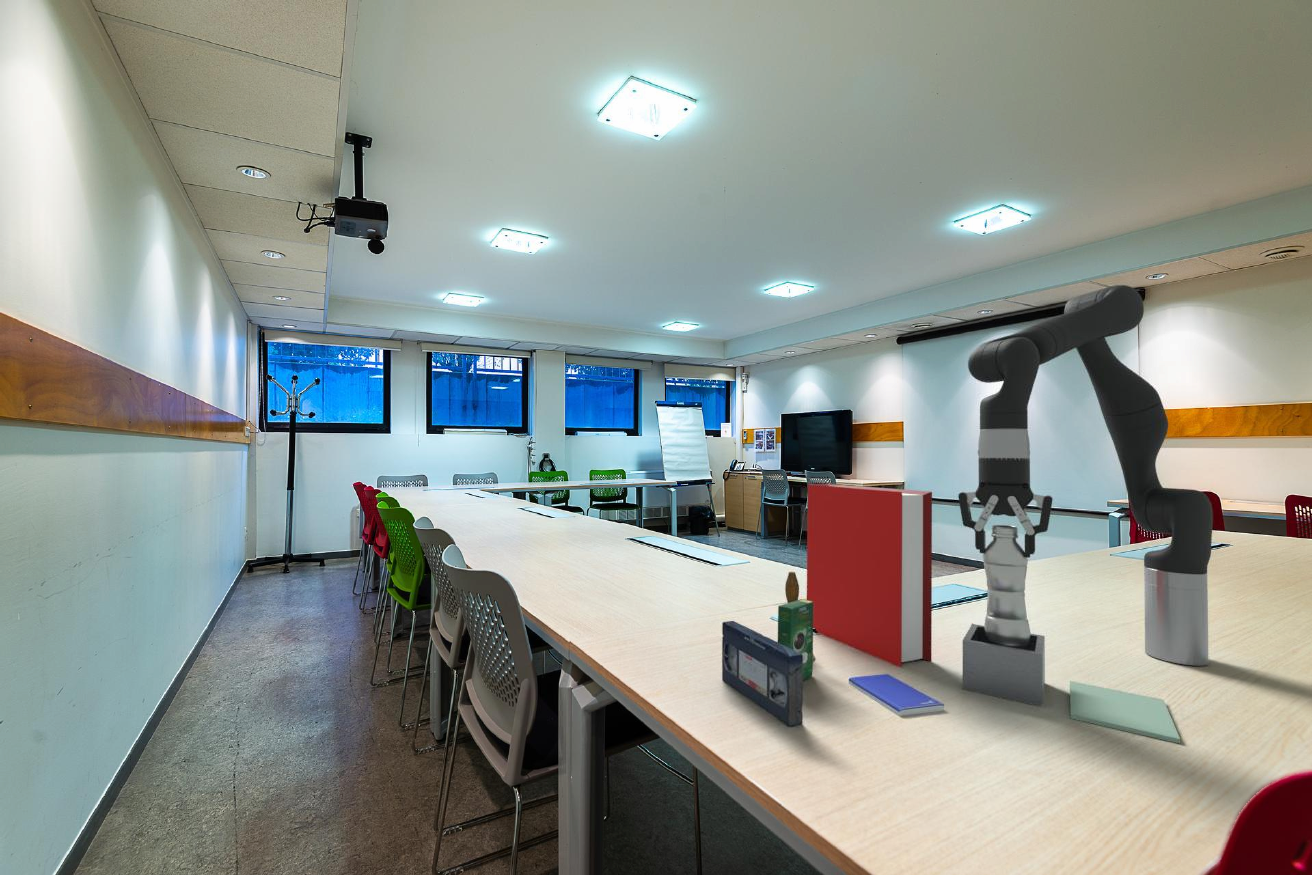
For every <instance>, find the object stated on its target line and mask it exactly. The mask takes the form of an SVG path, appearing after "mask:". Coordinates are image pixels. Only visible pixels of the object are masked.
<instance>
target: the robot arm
mask: <svg viewBox="0 0 1312 875" xmlns="http://www.w3.org/2000/svg"><path fill="white" fill-rule="evenodd" d="M1064 306H1065V307H1064V310H1063V314H1060V315H1056V316H1054V317H1053V316H1052V317H1051V318H1046V319H1045V320H1041V321H1039V322H1037V323H1034V324H1032V325H1030V326H1028V327H1025V328H1024V329H1022V330H1020V331H1018V332H1014V333H1013V334H1009V335H1006V336H1002V337H999V338H995V339H992V340H989V341H987V342H984V343H981V344H980V345H977V346H976V347H975V348H974V349H973V350H972V352H971V354H970V355H969V356H968V360H967V361H968V362H967V368H968V372H969V373H970V375H971V376H972V377H973V378H974V379H975V380H977V381H979V382H980V383H981V382H982V383H988V384H989V383H990V384H991V383H999V382H1003V383H1002V385H1001V387H1000V389H999V391H997V392H996V393H994V394H992V395H989V396H986V397H984V398H982V399H981V401H980V405H979V429H980V430H979V437H978V445H977V446H978V449H977V456H978V457H977V458H978V487H977V489H976V490H975V491H971V492H966V491H962V492H959V493H958V496H957V498H958V503H959V509H960V514H961V522H962V524H963V527H965V528H970V529H973V531H974V535H975V536H974V542H975V543H974V547H975V549H976V550H977V551H978V550H979V554H983V553H984V551H985V549H986V548H987V546H986V543H987V542H986V530H985V527H986V525H987V523H988V521H989V519H990V518H991V516H992V515H993V516H1003V515H1004V516H1008V517H1016V518H1017V519H1018V521H1019V523H1020V524H1021V526H1022V528H1023V530H1024V531H1025V534H1024V552H1025V557H1027V559H1028V558H1029V559H1030V557H1031V555H1034V554H1035V552H1036V535H1037V534H1040V533H1041V534H1042V533H1046V532H1047V531H1048V529H1049V524H1050V517H1051V511H1052V506H1053V500H1054V499H1053V496H1052V495H1050V494H1049V495H1042V494H1035V493H1034V492H1033V490H1032V488H1031V449H1030V448H1031V447H1030V445H1031V444H1030V437H1029V430H1028V429H1029V427H1028V423H1029V422H1028V420H1029V419H1028V417H1029V416H1028V407H1029V403H1030V398H1031V395H1032V392H1033V388H1034V385H1035V382H1036V379H1037V378H1036V377H1037V375H1038V372H1039V368H1040V366H1042V365H1043V364H1046V363H1048V362H1050V361H1052V360H1054V359H1056V358H1059V357H1060V356H1062V355H1063V354H1066V353H1068V352H1070V351H1072V350H1073V349H1076V351H1077V353H1078V355H1079V357H1080V359H1081V362H1082V363H1083V365H1084V367H1085V370H1086V372H1087V374H1088V377H1089V379H1090V382H1091V385H1092V386H1093V387H1092V388H1093V389H1094V393H1095V396H1096V398H1097V402H1098V404H1099V407H1100V412H1101V414H1102V416H1103V420H1104V423H1105V424H1106V428H1107V430H1108V434H1109V436H1110V437H1111V440H1112V443H1113V446H1114V448H1115V451H1116V455H1117V458H1118V461H1119V464H1120V468H1121V470H1122V475H1123V479H1124V484H1125V488H1126V493H1127V496H1128V501H1129V506H1130V509H1131V513H1132V516H1133V517H1134V518H1133V519H1135V522H1136V524H1137V525H1139V527H1140V528H1141V529H1142V530H1144V531H1147V532H1150V533H1155V534H1162V535H1163V534H1164V535H1170V536H1171V540H1170V543H1169V545H1168V546H1166V547H1165V548H1161V549H1158V550H1150V551H1147V552H1146V553H1145V554H1144V556H1143V568H1144V569H1143V570H1144V571H1143V573H1144V575H1143V576H1144V577H1143V578H1144V580H1143V581H1144V652H1145V653H1146V655H1148V656H1150V657H1153V658H1156V659H1159V660H1162V661H1164V662H1169V663H1173V664H1174V663H1175V664H1181V665H1188V666H1197V667H1199V666H1200V667H1201V666H1206V665H1209V603H1208V602H1209V599H1208V598H1209V597H1208V595H1209V594H1208V591H1209V590H1208V565H1209V562H1210V560H1211V555H1212V537H1213V525H1214V522H1213V521H1214V516H1213V515H1214V514H1213V512H1214V511H1213V506H1212V503H1211V501H1210V499H1209V497H1208V496H1207V494H1205V493H1204V492H1203V491H1200V490H1196V489H1187V488H1175V487H1173V488H1170V487H1163V486H1162V484H1161V482H1160V480H1159V476H1158V472H1157V467H1156V462H1157V458H1158V455H1159V453H1160V450H1161V448H1162V446H1163V444H1164V442H1165V440H1166V438H1167V437H1166V436H1167V434H1168V430H1169V421H1168V420H1169V419H1168V417H1167V413H1166V411H1165V408H1164V405H1163V402H1162V400H1161V396H1160V395H1159V393H1158V391H1157V389H1156V388H1155V387H1154V386H1153V385H1152V384H1151V383H1149V382H1148V381H1147V380H1146V379H1144V378H1143V377H1141V376H1140V375H1139V374H1138V373H1136V372H1135V371H1133V369H1131V368H1129V367H1128V366H1126V365H1125V364H1124V363H1123V362H1121V361H1120V360H1119V359H1118V358H1117V357H1116V355H1115V354H1114V352H1113V351H1112V349H1111V347H1110V346H1109V344H1108V342H1107V339H1106V338H1108V337H1112V336H1116V335H1117V336H1118V335H1121V334H1124V333H1127V332H1129V331H1131V330H1133V329H1135V328H1136V327H1138V325H1139V324H1140V323H1141V321H1142V319H1143V318H1144V317H1143V316H1144V311H1145V308H1144V301H1143V298H1142V296H1141V295H1140V293H1139V292H1138V291H1137V290H1136V289H1135V288H1134V287H1132V286H1130V285H1125V284H1119V285H1117V284H1116V285H1111V286H1108V287H1104V288H1101V289H1099V290H1094V291H1091V292H1088V293H1085V294H1082V295H1078V296H1075V297H1072V298H1070V299H1068V301H1067V302H1066V304H1065V305H1064ZM975 498H977V500H978V501H979V502H980V504H981V505H982V507H983V509H982V512H981V514H980V515H979V517H978V520H977V521H975V520H973V519H972V512H971V506H970V505H972V504H973V503H974V499H975ZM1033 501H1035V502H1036V506H1037V507H1038V508H1039V509H1041V513H1040V519H1039V524H1036V525H1035V524H1034V525H1033V523H1032V521H1031V519H1030V517H1029V515H1028V514H1027V512H1026V510H1025V509H1026V508H1027V507H1028V506H1029V505H1030V504H1031V502H1033Z"/></svg>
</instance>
